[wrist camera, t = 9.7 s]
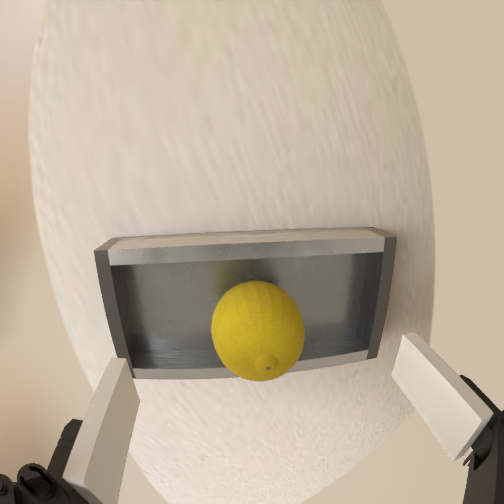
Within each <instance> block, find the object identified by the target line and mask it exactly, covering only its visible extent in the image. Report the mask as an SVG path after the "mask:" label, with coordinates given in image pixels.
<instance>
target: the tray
mask: <svg viewBox="0 0 504 504" xmlns="http://www.w3.org/2000/svg"><path fill="white" fill-rule="evenodd" d="M395 246H396V237H395V236H393V235H390V234H388V233H385V232H383V231H381V230H378V229H376V228H373V227H362V228H320V229H287V230H260V231H236V232H213V233H193V234H174V235H157V236H140V237H124V238H112V239H110V240H109V241H107V242H106V243H104V244H103V245H102V246H100V247H99V248H97V249H96V250H94V254H95V261H96V267H97V273H98V278H99V283H100V289H101V293H102V298H103V303H104V307H105V312H106V316H107V320H108V324H109V328H110V332H111V336H112V340H113V343H114V347H115V351H116V354H117V357H118V358H126V359H127V363H128V366H129V369H130V372H131V376H132V378H135V379H214V378H233V377H240V376H238V375H236V374H234V373H232V372H231V371H230V370H229V369H228V368H227V367H226V366H225V365H224V364H223V362H222V361H221V359H220V357H219V355H218V354H217V352H216V350H215V347H214V343H213V338H212V334H211V326H212V316H213V313H214V311H215V308H216V306H217V303H218V302H219V301H220V299H221V298H222V296H223V295H224V294H225V293H226V292H227V291H229V290H230V289H231V288H232V287H234V286H236V285H238V284H241V283H243V282H248V281H264V282H268V283H272V284H274V285H276V286H278V287H279V288H281V289H283V290H284V291H285V292H286V293H287V294H288V295H289V296H290V297H291V298H292V299H293V300H294V302H295V303H296V305H297V307H298V309H299V311H300V313H301V315H302V320H303V325H304V331H305V336H304V346H303V350H302V352H301V355H300V357H299V359H298V360H297V362H296V363H295V364H294V366H293V367H292V368H291V369H290V370H288V371H287V372H286V373H288V372H296V371H304V370H311V369H317V368H324V367H330V366H336V365H342V364H347V363H352V362H358V361H363V360H367V359H372V358H377V354H378V350H379V345H380V341H381V336H382V331H383V326H384V321H385V316H386V310H387V305H388V299H389V293H390V286H391V279H392V272H393V264H394V256H395Z"/></svg>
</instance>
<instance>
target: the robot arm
mask: <svg viewBox="0 0 504 504" xmlns="http://www.w3.org/2000/svg"><path fill="white" fill-rule="evenodd" d="M391 377H392V378H393V379H394V381H395V382H396V383H397V385H398V386H399V387H400V389H401V390H402V392H403V393H404V394H405V396H406V397H407V398H408V400H409V401H410V402H411V404H412V405H413V407H414V408H415V409H416V411H417V412H418V414H419V415H420V416H421V418H422V419H423V420H424V422H425V423H426V425H427V426H428V427H429V429H430V430H431V432H432V433H433V435H434V436H435V438H436V439H437V440H438V442H439V443H440V445H441V446H442V448H443V449H444V451H445V452H446V453H447V455H448V456H449V458H450V459H451V461H454V460H456V459H458V458H460V457H461V456H463V455H464V454H465V453H466V452H467V451H468V449H469V448H470V447H472V449H473V451H472V452H471V454H470V455H469V456H468V457H467V458H466V460H465V461H464V463H463V465H465V464H466V463H467V462H468V461H469V460H470V463H469V464H468V466H469V471H468V478H467V484H466V490H465V495H464V500H463V504H504V410H503V411H500V410H499V409H498V408H497V407H496V406H495V405H494V404H493V402H492V401H491V400H490V399H489V398H488V397H487V396H486V395H485V394H484V393H482V391H481V390H480V389H479V388H478V387H477V386H476V385H475V384H474V383H473V382H472V381H471V380H470V379H469V378H467V377H465V376H463V375H460V376H459V375H458V374H457V373H456V372H455V371H454V370H453V369H452V368H451V367H450V366H449V365H448V364H447V363H446V362H444V360H443V359H442V358H441V357H440V356H439V355H438V354H437V353H436V352H435V351H434V350H433V349H432V348H431V347H430V346H429V345H428V344H427V343H426V342H425V341H424V340H423V339H422V338H420V337H419V336H418V335H417V334H416V333H415V332H411V333H407V334H403V336H402V340H401V344H400V347H399V351H398V354H397V358H396V361H395V364H394V367H393V371H392V374H391ZM139 403H140V399H139V396H138V394H137V391H136V388H135V385H134V382H133V379H132V376H131V372H130V369H129V366H128V363H127V359H126V358H111V359H110V361H109V363H108V365H107V367H106V369H105V372H104V374H103V376H102V378H101V380H100V383H99V385H98V387H97V389H96V392H95V394H94V396H93V399H92V401H91V403H90V406H89V408H88V410H87V413H86V415H85V418H84V420H83V421H82V420H76V419H72V420H71V421H70V422H69V423H68V424H67V425H66V426H65V427H64V430H63V432H62V434H61V439H59V441H58V444H57V445H58V446H56V449H55V451H54V454H53V456H52V459H51V461H50V464H49V466H48V469H47V470H46V469H45V468H44V467H42V466H41V465H39V464H35V463H31V464H26V465H25V466H23V467H22V468H21V469H20V470H19V471H18V475H17V482H12V481H11V479H10V478H9V477H7V476H5V475H3V474H0V504H117V503H118V498H119V492H120V487H121V482H122V477H123V471H124V466H125V462H126V457H127V453H128V449H129V444H130V440H131V436H132V431H133V427H134V423H135V419H136V415H137V411H138V407H139Z"/></svg>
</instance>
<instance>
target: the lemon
mask: <svg viewBox="0 0 504 504" xmlns="http://www.w3.org/2000/svg"><path fill="white" fill-rule="evenodd" d="M211 334H212V338H213V343H214V347H215V350H216V352H217V354H218V355H219V357H220V359H221V361H222V362H223V364H224V365H225V366H226V367H227V368H228V369H229V370H230V371H231V372H232V373H234V374H236V375H238V376H240V377H241V378H244V379H248V380H252V381H266V380H271V379H274V378H277V377H279V376H281V375H283V374H285V373H286V372H287V371H288V370H290V369H291V368H292V367H293V366H294V364H295V363H296V362H297V360H298V359H299V357H300V355H301V352H302V350H303V346H304V336H305V331H304V325H303V320H302V315H301V313H300V311H299V309H298V307H297V305H296V303H295V302H294V300H293V299H292V298H291V297H290V296H289V295H288V294H287V293H286V292H285V291H284V290H283V289H281V288H279V287H278V286H276V285H274V284H272V283H268V282H264V281H248V282H243V283H241V284H238V285H236V286H234V287H232V288H231V289H230V290H229V291H227V292H226V293H225V294H224V295H223V296H222V298H221V299H220V301H219V302H218V303H217V306H216V308H215V311H214V313H213V316H212V326H211Z"/></svg>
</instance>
